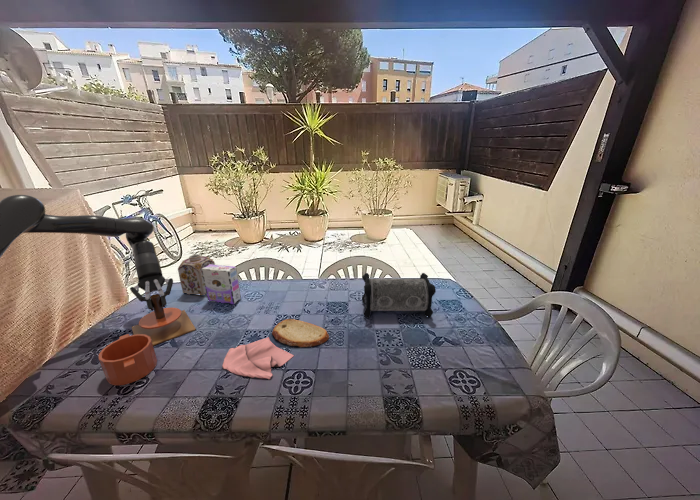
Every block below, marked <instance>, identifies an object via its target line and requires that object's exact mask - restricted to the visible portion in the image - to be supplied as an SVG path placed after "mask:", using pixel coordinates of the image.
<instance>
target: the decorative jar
mask: <svg viewBox="0 0 700 500" xmlns="http://www.w3.org/2000/svg"><path fill="white" fill-rule="evenodd" d="M210 264H213V265H216V263H215V261H214V260H213V259H212V258H210V257H209V256H205V255H201V254H192V255H190V256H188V258H186V259H184V260H182V261H181V263H180V264H179V266H178V267H177V271H178V278H179V282H180V286H181V291H182V294H183V293H187V294H186V295H190V294H200V295H205V294H206V288H205V284H204V279H203V274H202V268H204V267H206V266H208V265H210ZM200 295H199V296H200ZM206 295H207V294H206ZM206 295H205V296H206Z"/></svg>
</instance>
